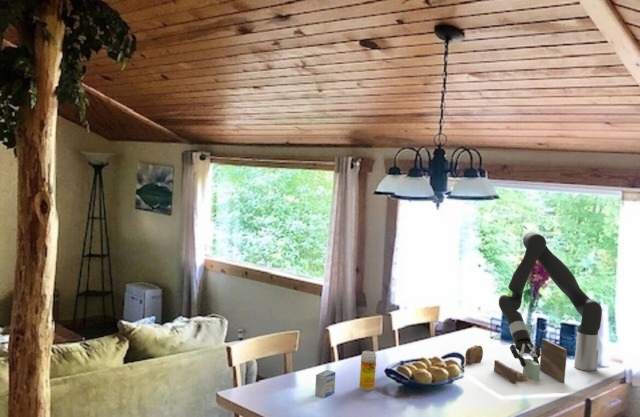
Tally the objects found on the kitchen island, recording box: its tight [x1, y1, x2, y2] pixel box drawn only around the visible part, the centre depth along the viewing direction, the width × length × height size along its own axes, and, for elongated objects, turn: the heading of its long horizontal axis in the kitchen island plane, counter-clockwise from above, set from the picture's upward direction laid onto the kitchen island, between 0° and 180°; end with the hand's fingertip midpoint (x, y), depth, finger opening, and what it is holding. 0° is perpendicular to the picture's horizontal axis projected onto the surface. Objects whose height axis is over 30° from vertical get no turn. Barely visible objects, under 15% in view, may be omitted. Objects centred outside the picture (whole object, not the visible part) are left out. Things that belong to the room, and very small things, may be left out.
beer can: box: [359, 350, 377, 392], centre depth 274 cm, size 6×6×15 cm
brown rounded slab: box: [464, 344, 484, 366], centre depth 319 cm, size 15×3×8 cm, turn 143°
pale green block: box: [522, 358, 541, 381], centre depth 300 cm, size 3×9×8 cm, turn 12°
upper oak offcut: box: [510, 367, 528, 382], centre depth 299 cm, size 5×12×2 cm, turn 19°
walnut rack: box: [493, 338, 568, 384], centre depth 300 cm, size 24×18×16 cm
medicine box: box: [314, 369, 336, 399], centre depth 265 cm, size 8×4×9 cm, turn 148°
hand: (530, 366), depth 301 cm, fingers open, 5 cm apart
